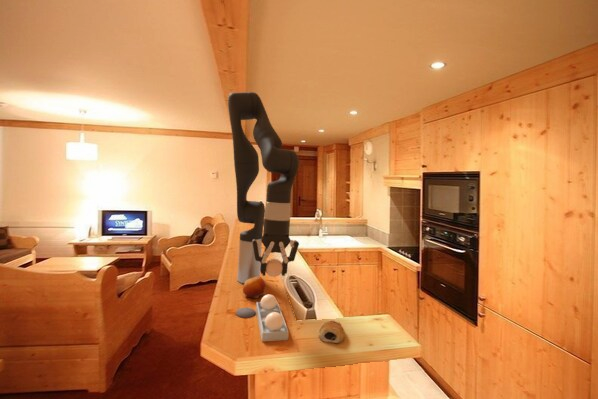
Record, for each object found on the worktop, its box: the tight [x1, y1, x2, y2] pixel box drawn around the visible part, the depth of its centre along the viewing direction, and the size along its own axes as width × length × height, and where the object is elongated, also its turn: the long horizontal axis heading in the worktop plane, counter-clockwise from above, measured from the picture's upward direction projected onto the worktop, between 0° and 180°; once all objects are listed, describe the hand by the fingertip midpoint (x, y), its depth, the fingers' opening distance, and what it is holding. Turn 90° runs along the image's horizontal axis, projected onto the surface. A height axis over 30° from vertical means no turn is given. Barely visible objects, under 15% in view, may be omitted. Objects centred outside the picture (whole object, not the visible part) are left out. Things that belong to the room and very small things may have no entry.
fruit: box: [242, 276, 266, 299], centre depth 105 cm, size 8×8×8 cm
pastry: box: [318, 320, 345, 344], centre depth 82 cm, size 9×7×4 cm
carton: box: [255, 301, 290, 342], centre depth 86 cm, size 19×7×2 cm, turn 13°
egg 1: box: [259, 293, 278, 311], centre depth 92 cm, size 5×5×5 cm
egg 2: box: [265, 312, 284, 332], centre depth 80 cm, size 5×5×5 cm
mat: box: [235, 307, 256, 319], centre depth 91 cm, size 6×6×1 cm
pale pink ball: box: [266, 258, 283, 278], centre depth 85 cm, size 5×5×5 cm
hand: (273, 274), depth 85 cm, fingers closed on pale pink ball, 5 cm apart
